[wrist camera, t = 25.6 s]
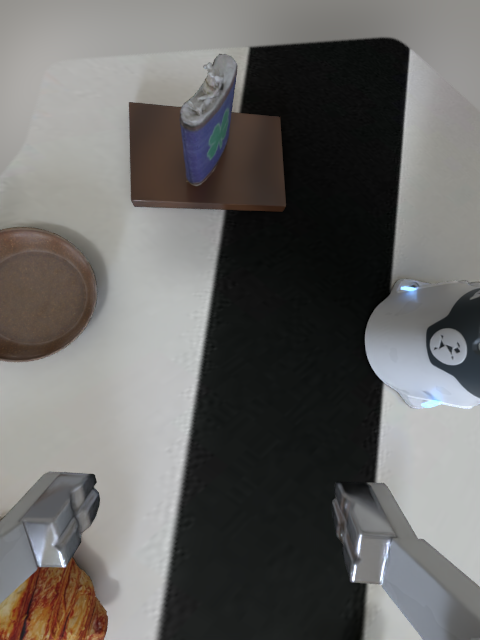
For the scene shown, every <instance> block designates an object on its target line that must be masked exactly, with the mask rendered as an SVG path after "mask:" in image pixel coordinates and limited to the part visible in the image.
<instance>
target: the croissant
mask: <svg viewBox="0 0 480 640" xmlns="http://www.w3.org/2000/svg"><path fill="white" fill-rule="evenodd" d="M37 568H38V569H37V570H36V571H35V572H34V573H33V574H32V575H31V576H30V577H29V578H28V579H26V580H25V581H24V582H23V583H22V584H21V585H20V586H19V587H18V588H17V589H16V590H15V591H13V592H12V593H11V594H10V595H9V596H8V597H7V598H6V599H5V600H4V601H3V602H2V603H0V640H104V637H105V635H106V632H107V625H108V616H107V615H106V612H107V611H106V610H105V609H104V607H103V606H102V605H101V604H100V601H99V600H98V599H97V598H96V597H95V591H94V587H93V584H92V580H90V577H89V576H88V575H87V574H86V573H85V571H83V570H81V569H80V568H79V567H78V566H77V565H76V563H75V561H74V559H73V558H71V560H70V562H69V563H68V565H67V567H66V568H64V567H37Z"/></svg>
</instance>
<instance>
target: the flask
mask: <svg viewBox="0 0 480 640" xmlns="http://www.w3.org/2000/svg"><path fill="white" fill-rule="evenodd" d="M203 67H204V69H207V70H208V75H207V78H206V79H205V81H204V83H203V84H202V86H201V87H200V88H199V90H198V91H197V93H195V95H194V96H193V97H192V98H191V99H189V101H187V102H185V103H184V105H183V106H182V107H181V110H180V116H179V118H180V119H179V120H180V126H181V134H182V142H183V154H184V161H185V168H186V179H187V182H189V183H190V184H191V185H195V186H198V185H201V184H202V183H203V182H204V181H206V179H207V178H208V177H209V176H210V175H211V173H212V172H213V171H214V170H215V168H216V166H217V165H218V162H219V160H220V158H221V156H222V154H223V152H224V150H225V147H226V145H227V141H228V138H229V128H230V121H231V111H232V104H233V97H234V89H235V83H236V75H237V63H236V62H235V60H234V59H233V58H232V57H231V56H229V55H226V54H219V55H218V56H217V57H216V59H215V60H214V62H213V65H212V63H210V62H209V63H208V64H207V65H204V66H203Z"/></svg>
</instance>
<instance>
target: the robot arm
mask: <svg viewBox="0 0 480 640" xmlns="http://www.w3.org/2000/svg"><path fill="white" fill-rule="evenodd" d="M365 349H366V354H367V358H368V360H369V363H370V365H371V367H372V369H373V370H374V372H375V373H376V375H377V376H378V377H379V378H380V379H381V380H382V381H383V382H384V383H385V384H387V385H388V386H390V387H391V388H393V389H394V390H396V391H397V392H398V393H399V394H400V395H401V397H402V398H403V399H404V401H405V402H406V403H407V404H408V405H409V406H410V407H412V408H417V409H421V408H424V407H426V408H430V407H433V406H436V405H439V404H445V405H450V406H455V407H460V408H465V409H471V408H472V407H473V406H476V405H480V282H471V283H468V281H464V280H463V281H447V282H441V283H436V284H432V283H427V282H422V281H417V280H412V279H401V280H398V281H397V282H396V283H395V285H394V287H393V289H392V291H391V293H390V295H389V296H388V297H387V298H386V299H385V300H384V301H383V302H381V303H380V304H379V305H378V306H377V307H376V308H375V310H374V311H373V313H372V314H371V316H370V318H369V320H368V323H367V327H366V331H365ZM95 484H96V478H95V475H94V474H84V473H69V472H48V473H46V474H44V475H43V476H42V477H41V478H40V479H39V480H38V481H37V482H36V483H35V484H34V486H33V487H32V488H31V489H30V490H29V491H28V492H27V493H26V494H25V495H24V496H23V497H22V498H21V500H20V501H19V502H18V503H17V504H16V505H15V506H14V507H13V508H12V509H11V510H10V511H9V512H8V513H7V515H6V516H5V517H4V518H3V519H2V520H1V521H0V603H2V602H3V601H4V600H5V599H6V598H7V597H8V596H9V595H10V594H11V593H12V592H13V591H15V590H16V589H17V588H18V587H19V586H20V585H21V584H22V583H23V582H24V581H25V580H26V579H28V578H29V577H30V576H31V575H32V574H33V573H34V572H35V571H36V570H37V569H38V568H37V567H64V568H66V567H67V565H68V563H69V562H70V560H71V558H72V557H73V555H74V553H75V551H76V550H77V548H78V546H79V545H80V543H81V533H83V532H84V531H85V530H86V529H87V528H89V527H90V526H91V524H92V522H93V520H94V519H95V517H96V514H97V511H98V508H99V502H100V497H99V492H98V491H97V490H96V489H95V488H94V485H95ZM334 492H335V495H336V498H335V499H334V500H333V501H332V517H333V523H334V528H335V531H336V535H337V537H338V538H339V540H340V541H341V542H342V543H343V544H344V545H343V552H342V555H343V558H344V561H345V565H346V568H347V571H348V574H349V578H350V581H351V582H358V583H370V584H382V587H383V589H384V590H385V591H386V593H387V594H388V595H389V596H390V598H391V599H392V600H393V602H394V603H395V604H396V605H397V607H398V608H399V609H400V611H401V612H402V613H403V614H404V616H405V617H406V618H407V620H408V621H409V622H410V623H411V625H412V626H413V627H414V629H415V630H416V631H417V632H418V634H419V635H420V636H421V637H422V639H423V640H480V587H479V586H478V585H477V584H476V583H475V582H473V581H472V580H471V579H470V578H469V577H467V576H466V575H465V574H464V573H463V572H462V571H460V570H459V569H458V568H457V567H456V566H454V565H453V564H452V563H451V562H450V561H449V560H447V559H446V558H445V557H444V556H443V555H441V554H440V553H439V552H438V551H437V550H436V549H434V548H433V547H432V546H431V545H430V544H428V543H427V542H426V541H425V540H424V539H418V538H417V536H416V535H415V533H414V531H413V529H412V528H411V526H410V524H409V523H408V521H407V519H406V518H405V516H404V514H403V512H402V511H401V509H400V507H399V506H398V504H397V502H396V501H395V499H394V497H393V495H392V494H391V492H390V490H389V489H388V487H387V486H386V485H385V484H384V483H366V482H336V483H335V486H334Z"/></svg>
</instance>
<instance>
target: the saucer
mask: <svg viewBox="0 0 480 640" xmlns="http://www.w3.org/2000/svg"><path fill="white" fill-rule="evenodd" d="M96 301H97V284H96V279H95V275H94V272H93V270H92V267H91V265H90V263H89V262H88V260H87V259H86V257H85V256H84V255H83V253H82V252H81V251H80V250H79V249H78V248H77V247H76V246H74V245H73V244H72V243H71V242H69V241H68V240H66V239H65V238H63V237H61V236H59V235H57V234H55V233H52V232H49V231H46V230H42V229H38V228H30V227H14V228H7V229H2V230H0V361H6V362H28V361H34V360H38V359H42V358H45V357H48V356H50V355H52V354H55V353H57V352H59V351H60V350H62V349H64V348H65V347H66V346H68V345H69V344H71V343H72V342H73V341H74V340H75V339H76V338H77V337H78V336H79V335H80V334H81V333H82V332H83V330H84V329H85V328H86V326H87V324H88V323H89V321H90V319H91V317H92V315H93V312H94V309H95V306H96Z"/></svg>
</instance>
